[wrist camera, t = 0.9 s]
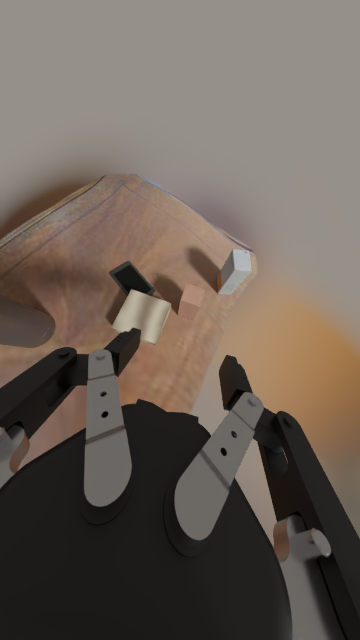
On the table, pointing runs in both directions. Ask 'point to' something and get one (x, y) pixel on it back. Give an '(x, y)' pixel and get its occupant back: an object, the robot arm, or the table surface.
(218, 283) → the skincare box
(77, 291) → the table surface
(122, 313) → the birch riser
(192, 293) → the terracotta block
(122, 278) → the cell phone
